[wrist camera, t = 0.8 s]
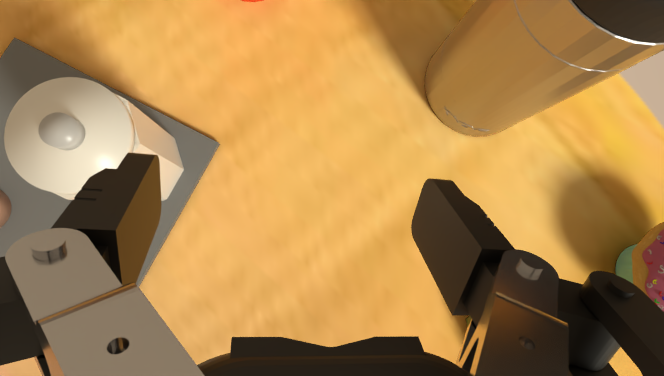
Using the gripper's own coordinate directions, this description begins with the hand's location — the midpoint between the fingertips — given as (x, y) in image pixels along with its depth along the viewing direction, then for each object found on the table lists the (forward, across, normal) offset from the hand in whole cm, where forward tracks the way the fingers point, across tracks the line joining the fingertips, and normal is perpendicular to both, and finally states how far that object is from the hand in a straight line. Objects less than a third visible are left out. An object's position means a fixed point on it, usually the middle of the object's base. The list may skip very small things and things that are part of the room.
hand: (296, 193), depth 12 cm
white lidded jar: (+19, +10, +10) cm, 24 cm away
